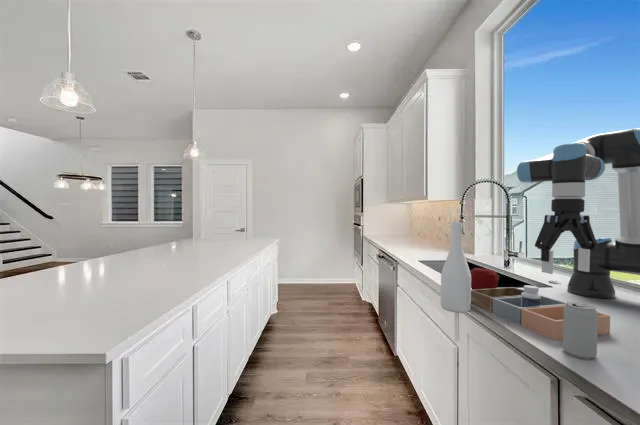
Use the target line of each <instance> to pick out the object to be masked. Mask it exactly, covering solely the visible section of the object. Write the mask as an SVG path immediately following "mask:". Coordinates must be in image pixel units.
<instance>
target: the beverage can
mask: <svg viewBox="0 0 640 425" xmlns="http://www.w3.org/2000/svg"><path fill="white" fill-rule="evenodd" d="M565 303H566V306H565V307H564V316H563V339H562V349H563V350H564V351H565V352H566V353H567V354H568V355H570V356H572V357H575V358H579V359H585V360H591V359H593V358H596V357H597V353H598V352H597V351H598V335H597V328H598V313H597V312H598V311H597V307H596V306H594V305H592V304H589V303H584V302H580V301H579V302H578V301H567V302H565Z"/></svg>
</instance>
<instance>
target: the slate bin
mask: <svg viewBox="0 0 640 425" xmlns="http://www.w3.org/2000/svg"><path fill="white" fill-rule="evenodd" d="M539 295H540V296H541V306H531V307H521V296H519V297H505V298H493V313H492V314H493V315H495V316H497V317H501V318H503V319H505V320H507V321H509V322H512V323H514V324H517V325H519V326H521V309H526V308H538V307H549V306H561V305H566V302H565V301H561V300H559V299H556V298H555V299H554V298H551V297H548V296H545V295H542V294H539Z"/></svg>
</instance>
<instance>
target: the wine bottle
mask: <svg viewBox="0 0 640 425" xmlns="http://www.w3.org/2000/svg"><path fill="white" fill-rule="evenodd" d="M450 228H451V239H450V240H451V242H450V248H449V251H448V254H447V256H446V259H445V262H444V265H443V268H442V270H441V274H440V306H441V308H442V309H443V310H445V311H447V312H450V313H456V314H457V313H458V314H459V313H460V314H462V313H463V314H465V313H468V312H470V310H471V305H472V304H471V290H472V288H471V273H470V271H471V270H470V267H469V264H468V261H467V258H466V255H465V252H464V247H463V228H464V224H463V221H462V222H461V221H451V224H450Z"/></svg>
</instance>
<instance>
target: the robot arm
mask: <svg viewBox="0 0 640 425" xmlns="http://www.w3.org/2000/svg"><path fill="white" fill-rule="evenodd" d="M608 164H611V169H612V170H614V171H615V172H617V181H618V182H617V184H618V206H619V207H618V210H619V211H618V212H619V230H620V232H619V235H618V236H616V238H615V241H612V238H611V237H595V234H594V232H593V229H592V228H593V227H592V226H591V220H590V218H591V217H590V216H589V215H588V214H587V215H585V214H581V213H584V212H585V200H584V199H583V198H585V196H586V181H592V180H596V179H598V178H600V177H601V176H602V175H603V174H604V172H605V169H606V165H608ZM516 175H517V179H518V180H519V181H520V183H540V182H541V183H544V182H551V184H552V188H551V190H552V191H551V197H552V198H554V199H552V200H551V209H550V210H551V212H554V214H545V215H544V219H543V220H544V221H543V224H542V227H541V228H540V231H539V233H538V237H537V239H536V241H535V243H534V247H535V248H537V249H539V250H540V260H541V273H545V274H549V275H552V274H554V250H552V248H553V246H554V245H555V244H556V242H557V241H558V239H559V238H560V236H561V235H562V233H564V232H571V234H572V235H573V237H574V238H575V241H574V242H573V243H574V244H573V248H572V249H573V258H572V259H573V261H572V262H573V263H572V264H573V265H572V266H573V269H572V275H571V277H570V279H569V281H568V284H567V291H568V292H570V293H571V294H574V295H579V296H582V297H589V298H597V299H615V298H616V289H615V288H614V284H613V281H612V279H611V272H616V273H621V274H628V275H629V274H631V275H637V276H640V127H636V128H635V127H634V128H631V129H630V128H629V129H625V130H624V129H623V130H617V131H612V132H611V131H610V132H604V133H599V134H594V135H592V136H588V137H585V138H583V139H579V140H578V141H575V142H572V143H570V142H569V143H565V144H558V145H556V146H555V147H554V148H553V152H552V153H551V154H549V155H546V156H543V157H540V158H537V159H532V160H531V159H528V160H524V161H521V162H520V163H519V164H518V165H517V168H516Z"/></svg>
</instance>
